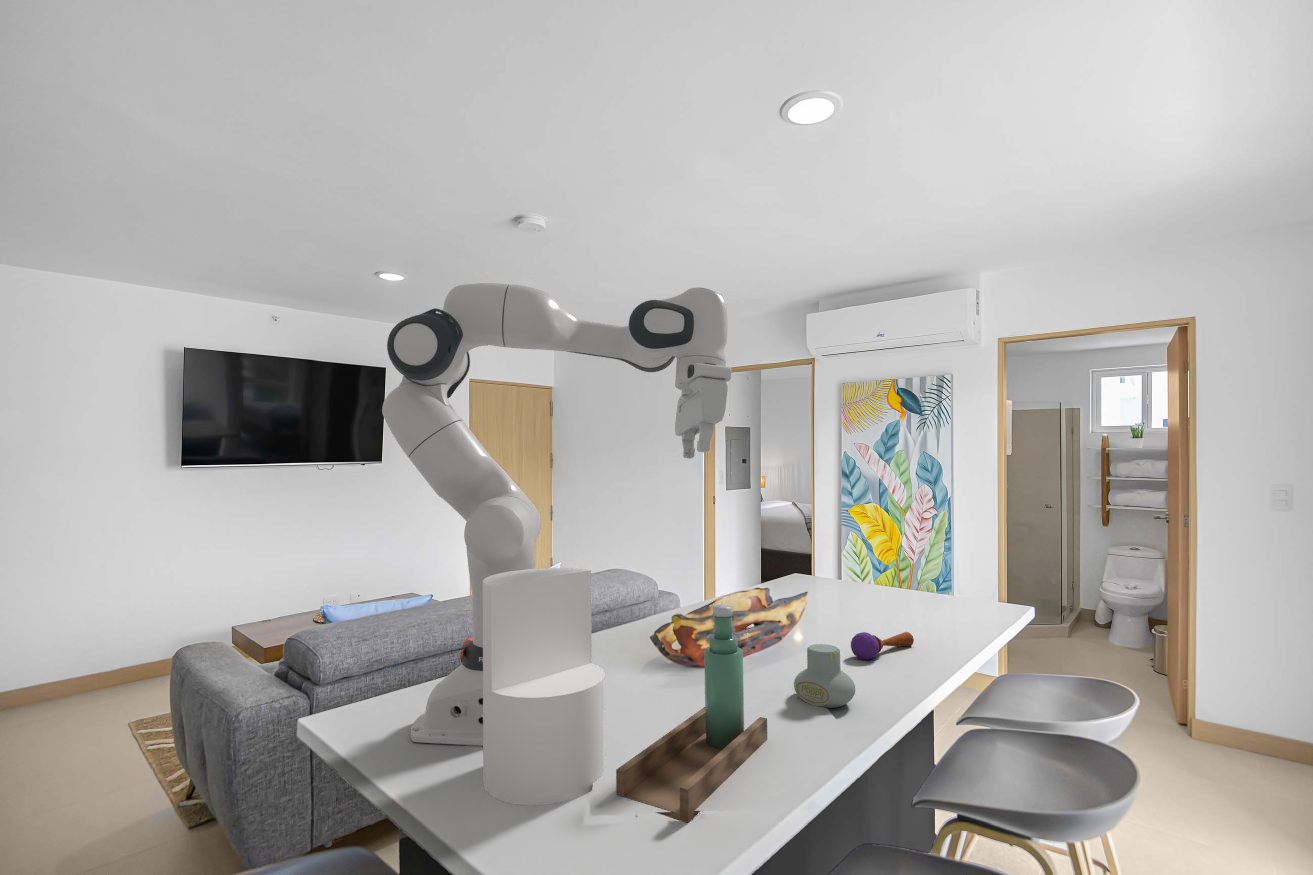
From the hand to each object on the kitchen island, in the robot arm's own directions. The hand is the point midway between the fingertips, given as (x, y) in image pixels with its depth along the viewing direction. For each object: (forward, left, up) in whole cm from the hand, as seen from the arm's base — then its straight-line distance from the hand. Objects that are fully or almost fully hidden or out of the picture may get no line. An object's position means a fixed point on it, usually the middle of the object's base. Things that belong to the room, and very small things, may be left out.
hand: (695, 455), depth 115 cm
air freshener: (+24, +6, -46) cm, 52 cm away
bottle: (+3, -11, -45) cm, 46 cm away
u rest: (-2, -18, -46) cm, 49 cm away
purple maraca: (+47, +36, -46) cm, 75 cm away
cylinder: (-24, -18, -46) cm, 55 cm away
